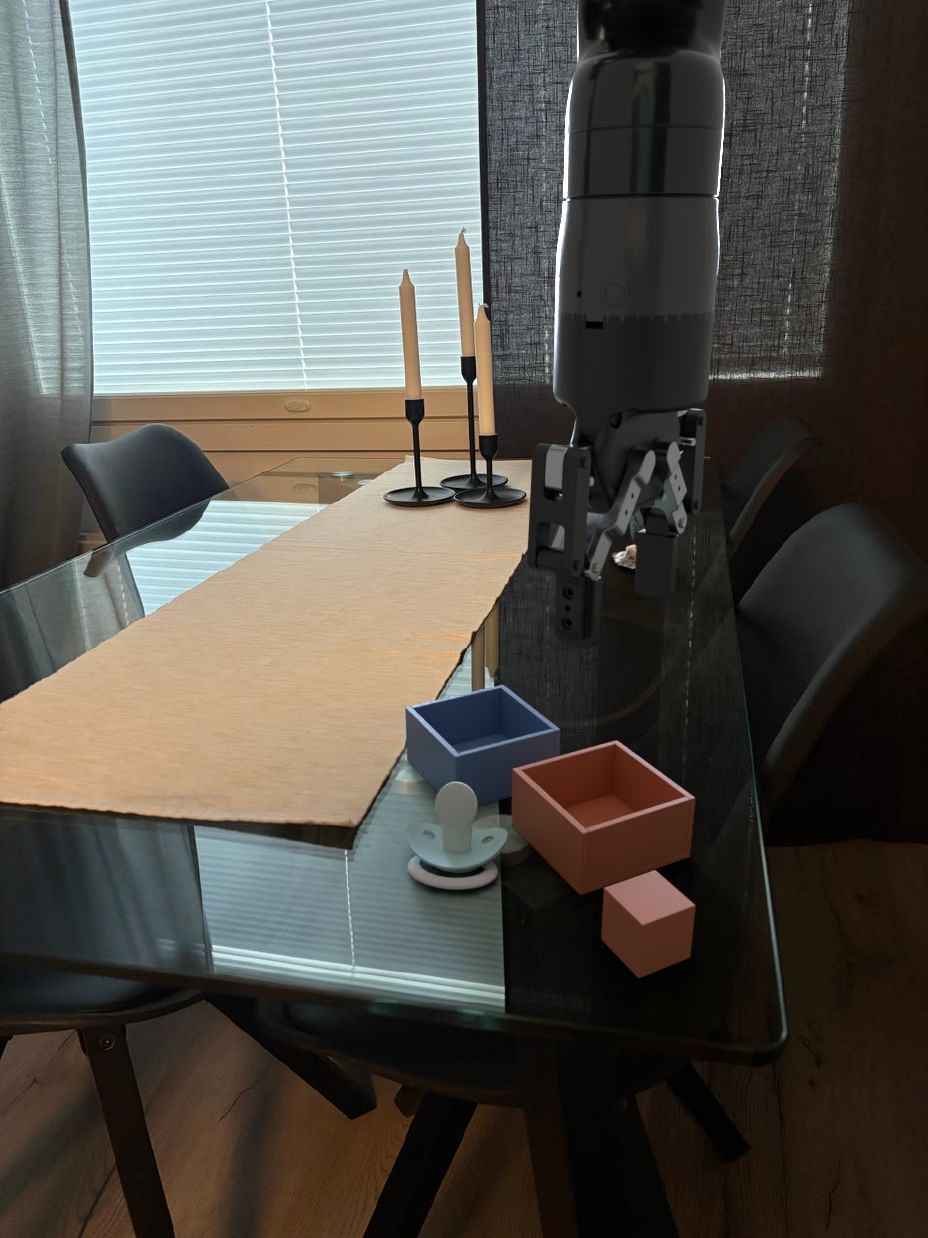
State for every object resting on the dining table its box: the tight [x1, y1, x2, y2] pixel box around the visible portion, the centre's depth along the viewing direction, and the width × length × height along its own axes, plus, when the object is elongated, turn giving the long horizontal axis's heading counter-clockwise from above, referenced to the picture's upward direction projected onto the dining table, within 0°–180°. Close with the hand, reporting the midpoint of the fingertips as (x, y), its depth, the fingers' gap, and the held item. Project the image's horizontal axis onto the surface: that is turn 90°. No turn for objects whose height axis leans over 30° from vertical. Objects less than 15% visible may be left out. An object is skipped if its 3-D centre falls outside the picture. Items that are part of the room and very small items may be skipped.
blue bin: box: [404, 684, 561, 807], centre depth 80 cm, size 10×10×5 cm
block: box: [600, 869, 696, 979], centre depth 60 cm, size 4×4×4 cm
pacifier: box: [405, 782, 509, 891], centre depth 67 cm, size 7×6×6 cm
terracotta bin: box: [511, 739, 696, 896], centre depth 70 cm, size 10×10×5 cm
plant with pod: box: [610, 514, 678, 570], centre depth 127 cm, size 8×11×20 cm
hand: (617, 618), depth 51 cm, fingers open, 8 cm apart
